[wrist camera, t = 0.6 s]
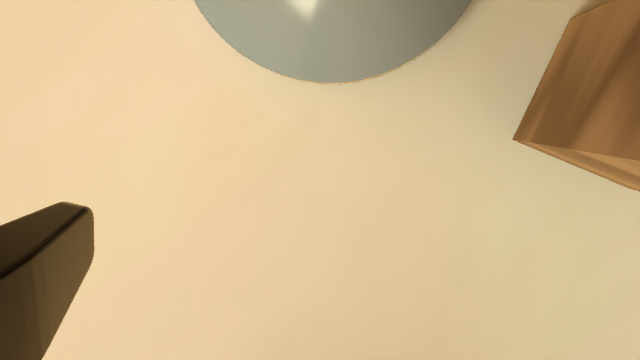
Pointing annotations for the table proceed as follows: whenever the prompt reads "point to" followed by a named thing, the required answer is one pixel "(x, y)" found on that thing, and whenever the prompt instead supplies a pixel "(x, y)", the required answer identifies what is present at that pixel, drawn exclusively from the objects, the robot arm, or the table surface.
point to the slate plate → (331, 34)
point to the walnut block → (592, 96)
